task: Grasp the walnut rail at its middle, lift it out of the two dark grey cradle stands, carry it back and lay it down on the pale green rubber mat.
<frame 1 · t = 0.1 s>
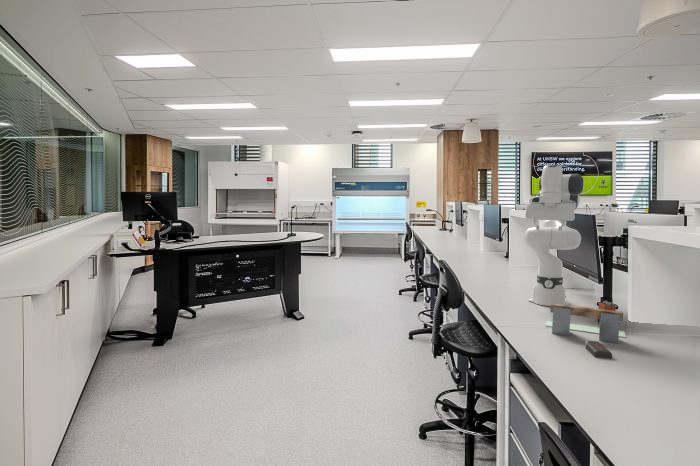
hand: (548, 230, 189), 39 cm above the table, tool pointing down, fingers open, 8 cm apart
stand a: (560, 332, 165), on the table
usb drive: (596, 353, 144), on the table
rail: (585, 315, 160), point 8 cm above the table, touching stand a, stand b
battery: (605, 325, 176), on the table
stand b: (608, 339, 157), on the table
mat: (584, 329, 170), on the table
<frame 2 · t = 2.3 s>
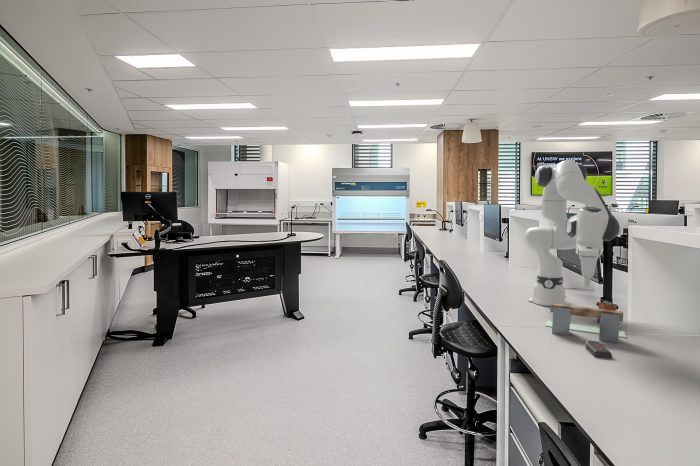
hand: (586, 285, 159), 20 cm above the table, tool pointing down, fingers open, 8 cm apart
nothing on the table moved.
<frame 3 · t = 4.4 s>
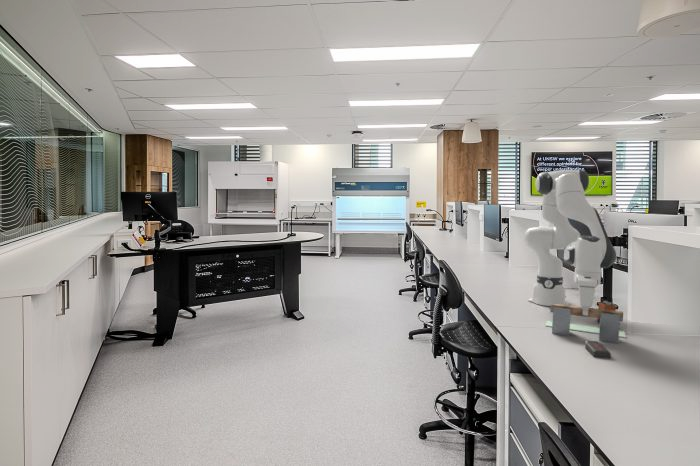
hand: (585, 313, 160), 9 cm above the table, tool pointing down, fingers closed on rail, 3 cm apart
rail: (585, 315, 160), point 8 cm above the table, touching gripper, stand a, stand b
everything else where it was.
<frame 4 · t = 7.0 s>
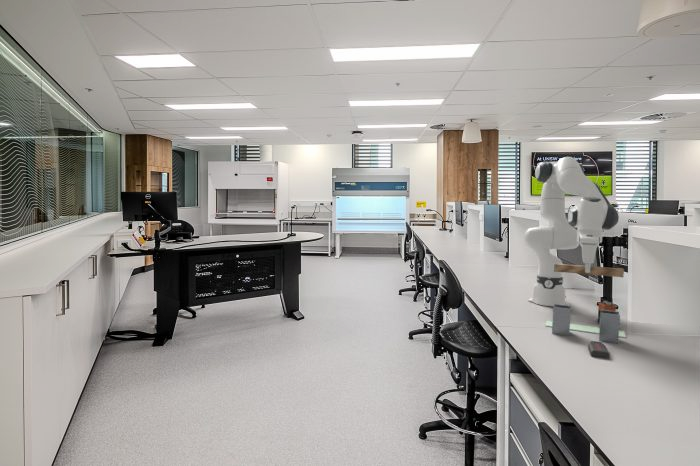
hand: (587, 271, 168), 24 cm above the table, tool pointing down, fingers closed on rail, 3 cm apart
rail: (587, 273, 168), point 23 cm above the table, touching gripper
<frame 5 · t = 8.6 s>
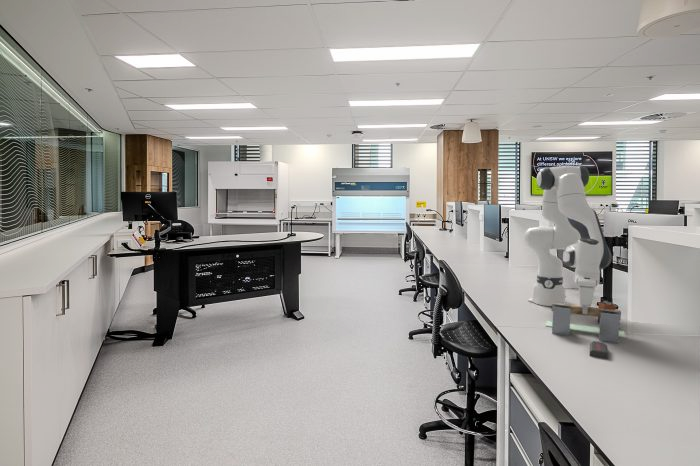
hand: (584, 312, 169), 7 cm above the table, tool pointing down, fingers closed on rail, 3 cm apart
rail: (584, 314, 169), point 6 cm above the table, touching gripper
when the fingers open (2 cm above the table, at t = 9.9 s): rail drops 1 cm, resting on mat.
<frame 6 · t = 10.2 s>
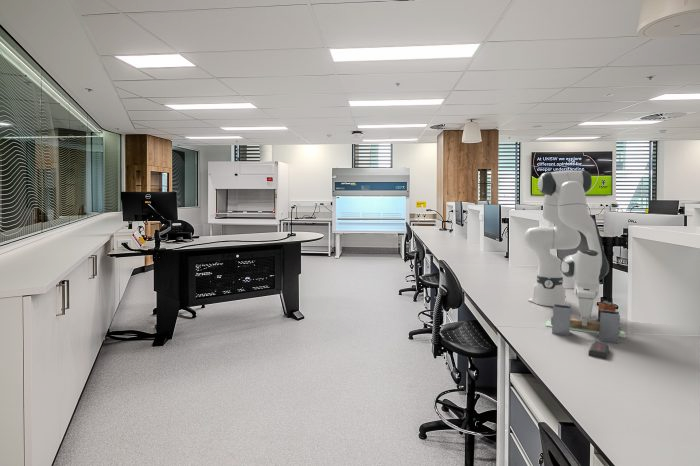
hand: (584, 323, 169), 2 cm above the table, tool pointing down, fingers open, 5 cm apart
rail: (584, 328, 170), resting on mat
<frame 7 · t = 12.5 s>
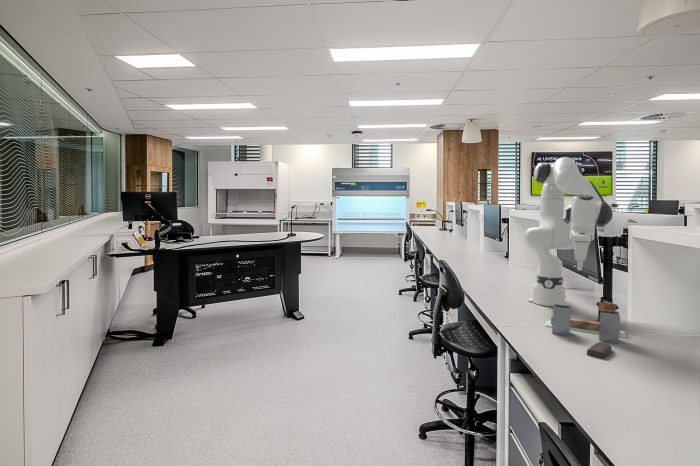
hand: (579, 268, 172), 25 cm above the table, tool pointing down, fingers open, 8 cm apart
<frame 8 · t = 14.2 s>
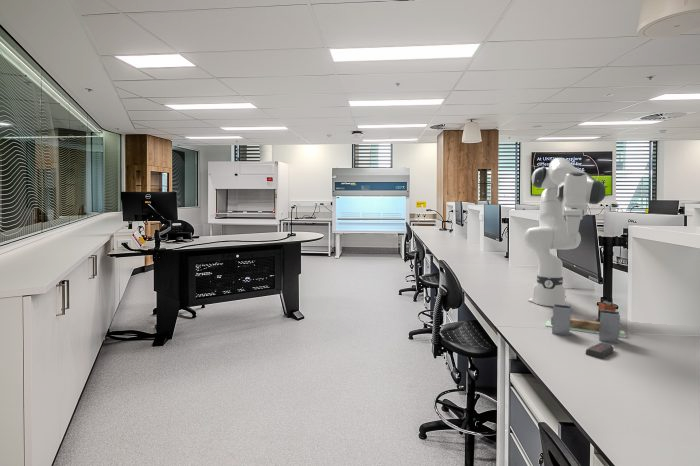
hand: (572, 243, 175), 34 cm above the table, tool pointing down, fingers open, 8 cm apart
at the end: rail inside the target area (0.1 cm from its centre), resting on mat; rail touching mat; the gripper is holding nothing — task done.
